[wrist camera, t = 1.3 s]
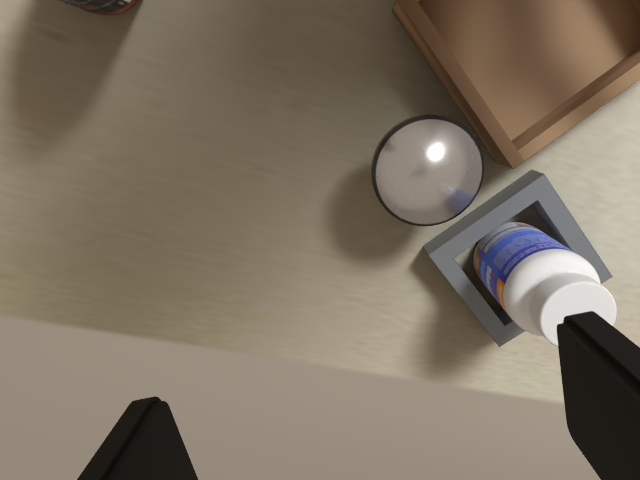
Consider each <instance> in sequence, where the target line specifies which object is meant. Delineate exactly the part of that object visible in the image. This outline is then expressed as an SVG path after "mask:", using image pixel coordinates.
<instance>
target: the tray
mask: <svg viewBox="0 0 640 480" xmlns="http://www.w3.org/2000/svg"><path fill="white" fill-rule="evenodd" d="M392 11H393V13H394V14H395V16H396V17H397V19H398V20H399V21H400V23H401V24H402V26H403V27H404V29H405V30H406V32H407V33H408V35H409V36H410V37H411V39H412V40H413V42H414V43H415V45H416V46H417V48H418V49H419V50H420V52H421V53H422V55H423V56H424V58H425V59H426V61H427V62H428V64H429V65H430V66H431V68H432V69H433V71H434V72H435V74H436V75H437V77H438V78H439V80H440V81H441V82H442V84H443V85H444V87H445V88H446V90H447V91H448V93H449V94H450V95H451V97H452V98H453V100H454V101H455V103H456V104H457V106H458V107H459V109H460V110H461V111H462V113H463V114H464V116H465V117H466V119H467V120H468V122H469V123H470V124H471V126H472V127H473V129H474V130H475V132H476V133H477V135H478V136H479V138H480V139H481V140H482V142H483V143H484V145H485V146H486V148H487V149H488V151H489V152H490V154H491V155H492V156H493V158H494V159H495V161H496V162H497V163H499V164H502V165H505V166H507V167H510V168H512V169H514V168H515V167H517V166H518V165H519V164H521V163H522V162H524V161H525V160H526V159H528V158H529V157H531V156H532V155H534V154H535V153H536V152H538V151H539V150H541V149H542V148H543V147H545V146H546V145H548V144H549V143H550V142H552V141H553V140H555V139H556V138H557V137H559V136H560V135H562V134H563V133H564V132H566V131H567V130H569V129H570V128H571V127H573V126H574V125H576V124H577V123H578V122H580V121H581V120H583V119H584V118H585V117H587V116H588V115H590V114H591V113H592V112H594V111H595V110H597V109H598V108H599V107H601V106H602V105H604V104H605V103H607V102H608V101H609V100H611V99H612V98H614V97H615V96H616V95H618V94H619V93H621V92H622V91H623V90H625V89H626V88H628V87H629V86H630V85H632V84H633V83H635V82H636V81H637V80H639V79H640V0H397V1H396V3H395V5H394V6H393V8H392Z"/></svg>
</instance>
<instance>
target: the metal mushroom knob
mask: <svg viewBox="0 0 640 480" xmlns="http://www.w3.org/2000/svg"><path fill="white" fill-rule="evenodd" d="M483 174H484V161H483V155H482V151H481V149H480V146H479V144H478V142H477V140H476V139H475V137H474V136H473V135H472V133H471V132H470V131H469V130H468V129H467V128H466V127H464V126H463V125H461V124H460V123H458V122H456V121H454V120H452V119H449V118H446V117H441V116H435V115H421V116H416V117H412V118H409V119H406V120H404V121H402V122H400V123H399V124H397V125H396V126H394V127H393V128H392V129H391V130H390V131H388V132H387V134H386V135H385V136H384V137H383V138H382V140H381V141H380V143H379V144H378V146H377V148H376V150H375V153H374V156H373V160H372V165H371V179H372V184H373V187H374V190H375V193H376V195H377V197H378V199H379V201H380V203H381V204H382V206H383V207H384V208H385V209H386V210H387V211H388V212H389V213H390V214H391V215H392V216H394V217H395V218H397V219H398V220H401V221H403V222H405V223H408V224H411V225H417V226H433V225H438V224H441V223H444V222H447V221H449V220H451V219H453V218H455V217H456V216H458V215H459V214H461V213H462V212H463V211H464V210H465V209H466V208H467V207H468V206H469V205H470V204H471V203H472V201H473V200H474V199H475V197H476V195H477V193H478V191H479V189H480V187H481V183H482V180H483Z"/></svg>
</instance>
